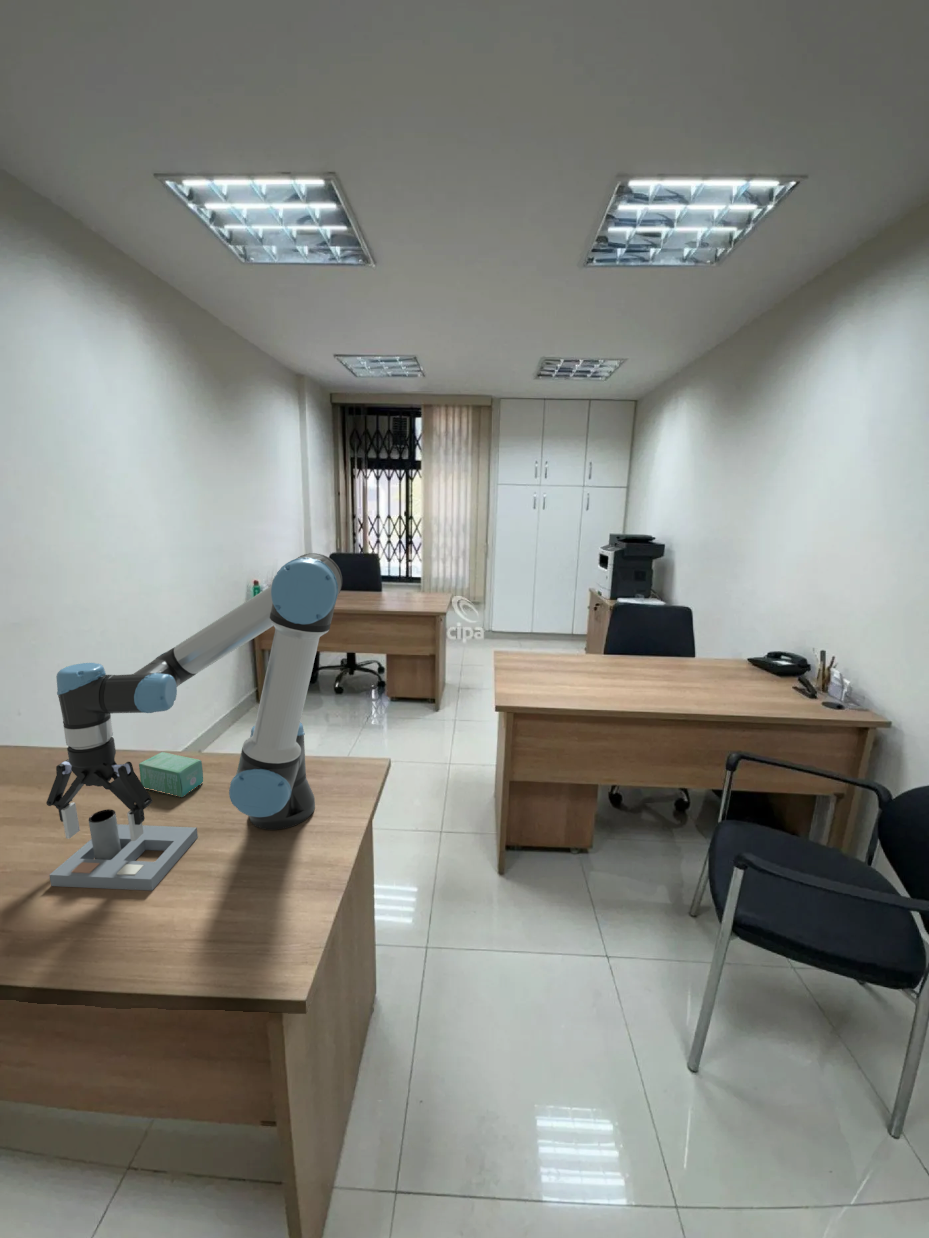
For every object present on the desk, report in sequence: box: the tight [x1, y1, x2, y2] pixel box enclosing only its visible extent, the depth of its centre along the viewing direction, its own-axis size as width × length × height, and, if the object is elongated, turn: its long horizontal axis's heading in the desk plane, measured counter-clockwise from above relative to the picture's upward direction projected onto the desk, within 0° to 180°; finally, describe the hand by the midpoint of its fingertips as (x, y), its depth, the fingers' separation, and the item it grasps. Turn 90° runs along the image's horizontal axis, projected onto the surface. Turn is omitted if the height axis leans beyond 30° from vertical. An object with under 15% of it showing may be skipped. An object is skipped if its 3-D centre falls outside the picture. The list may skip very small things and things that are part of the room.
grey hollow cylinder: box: [88, 808, 122, 860], centre depth 104 cm, size 4×4×10 cm
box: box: [138, 751, 204, 798], centre depth 132 cm, size 7×14×8 cm, turn 74°
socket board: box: [48, 823, 199, 891], centre depth 105 cm, size 20×16×3 cm
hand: (105, 835), depth 104 cm, fingers open, 13 cm apart
